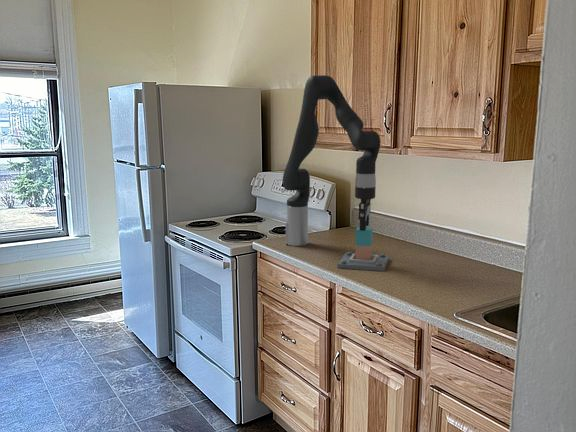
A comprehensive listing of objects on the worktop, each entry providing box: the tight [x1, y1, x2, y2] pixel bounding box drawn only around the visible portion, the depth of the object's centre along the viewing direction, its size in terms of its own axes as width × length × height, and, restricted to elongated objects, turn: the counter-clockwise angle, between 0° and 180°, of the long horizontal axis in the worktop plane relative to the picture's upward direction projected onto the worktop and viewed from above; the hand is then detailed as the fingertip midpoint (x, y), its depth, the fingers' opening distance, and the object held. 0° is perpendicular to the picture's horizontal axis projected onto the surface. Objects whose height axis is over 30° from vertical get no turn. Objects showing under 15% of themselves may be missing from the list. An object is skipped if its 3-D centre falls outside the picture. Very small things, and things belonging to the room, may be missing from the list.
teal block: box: [355, 226, 373, 247], centre depth 200 cm, size 6×6×6 cm
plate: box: [336, 251, 389, 272], centre depth 201 cm, size 17×17×2 cm
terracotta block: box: [354, 243, 373, 260], centre depth 201 cm, size 6×6×6 cm
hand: (364, 228), depth 199 cm, fingers open, 8 cm apart
